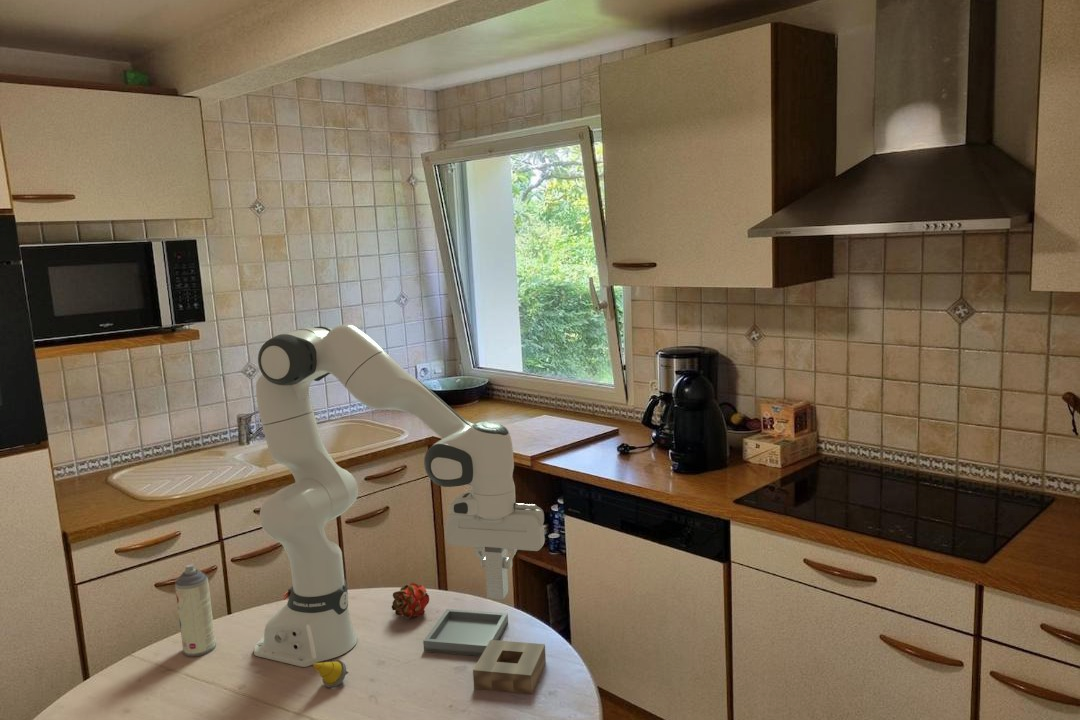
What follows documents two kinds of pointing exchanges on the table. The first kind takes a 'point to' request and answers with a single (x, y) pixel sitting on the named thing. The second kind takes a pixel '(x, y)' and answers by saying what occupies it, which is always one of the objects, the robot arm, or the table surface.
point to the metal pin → (496, 573)
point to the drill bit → (331, 672)
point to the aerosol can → (195, 612)
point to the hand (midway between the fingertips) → (496, 566)
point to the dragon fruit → (410, 600)
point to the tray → (465, 632)
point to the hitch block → (509, 666)
